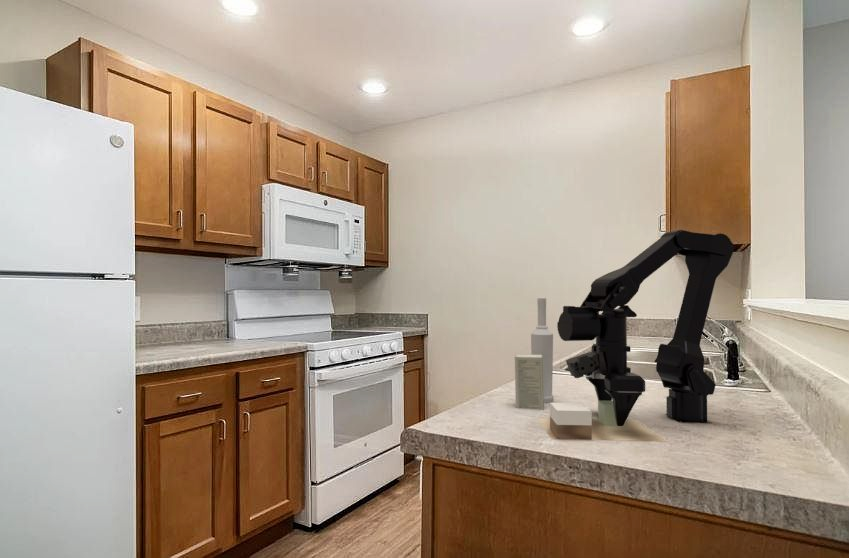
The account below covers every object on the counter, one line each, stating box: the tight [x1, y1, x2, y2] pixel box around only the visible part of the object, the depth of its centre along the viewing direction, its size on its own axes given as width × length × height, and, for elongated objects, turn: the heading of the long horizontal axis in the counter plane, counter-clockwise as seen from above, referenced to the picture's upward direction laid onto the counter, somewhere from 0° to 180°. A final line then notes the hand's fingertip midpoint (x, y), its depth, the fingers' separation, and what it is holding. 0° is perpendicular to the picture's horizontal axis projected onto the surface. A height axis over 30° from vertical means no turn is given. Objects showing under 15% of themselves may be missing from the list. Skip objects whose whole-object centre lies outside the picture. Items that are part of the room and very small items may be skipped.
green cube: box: [597, 400, 626, 426], centre depth 94 cm, size 4×4×4 cm
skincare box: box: [514, 353, 545, 410], centre depth 108 cm, size 6×4×12 cm
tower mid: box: [549, 402, 593, 425], centre depth 87 cm, size 6×6×2 cm
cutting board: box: [536, 417, 669, 443], centre depth 90 cm, size 20×14×1 cm
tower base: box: [549, 416, 593, 441], centre depth 87 cm, size 6×6×2 cm
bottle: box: [530, 297, 554, 404], centre depth 114 cm, size 5×5×25 cm
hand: (611, 419), depth 94 cm, fingers open, 9 cm apart
